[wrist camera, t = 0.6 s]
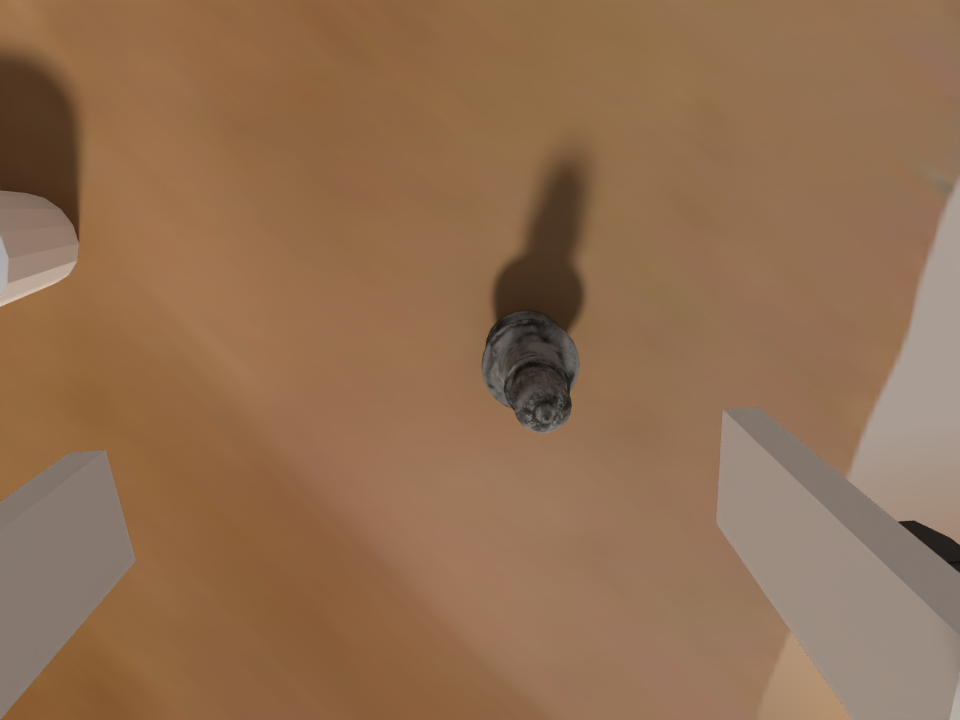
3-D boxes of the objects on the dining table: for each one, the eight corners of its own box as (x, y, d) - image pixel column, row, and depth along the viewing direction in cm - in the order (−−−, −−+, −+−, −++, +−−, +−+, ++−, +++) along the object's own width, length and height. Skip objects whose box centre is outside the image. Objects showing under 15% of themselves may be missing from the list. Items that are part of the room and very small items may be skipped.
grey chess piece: (479, 307, 39) (483, 362, 28) (571, 304, 39) (612, 358, 28) (481, 393, 41) (486, 478, 29) (569, 391, 41) (607, 475, 29)
